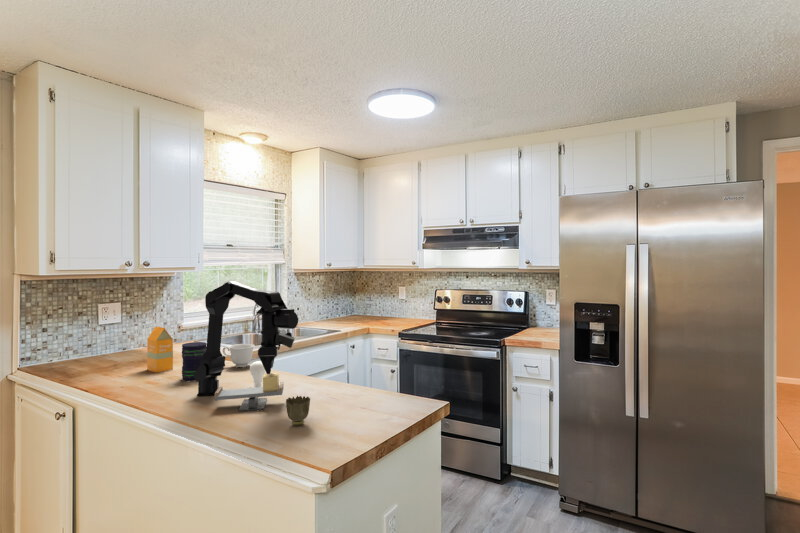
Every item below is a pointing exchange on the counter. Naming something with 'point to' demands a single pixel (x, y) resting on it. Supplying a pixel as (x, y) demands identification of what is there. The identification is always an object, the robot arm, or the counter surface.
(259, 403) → the pivot stand
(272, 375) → the golden cube
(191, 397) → the counter surface
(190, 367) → the dark blue cylinder
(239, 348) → the teacup
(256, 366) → the lightbulb
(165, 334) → the orange juice
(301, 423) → the cup
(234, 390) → the beam
